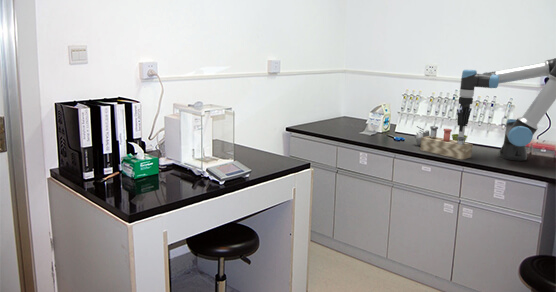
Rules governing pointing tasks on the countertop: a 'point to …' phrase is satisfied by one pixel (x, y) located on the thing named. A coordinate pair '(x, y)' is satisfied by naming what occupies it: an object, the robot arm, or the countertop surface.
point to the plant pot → (457, 136)
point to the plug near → (460, 140)
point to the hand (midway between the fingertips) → (460, 136)
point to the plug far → (433, 132)
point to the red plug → (447, 135)
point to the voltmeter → (419, 136)
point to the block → (446, 147)
